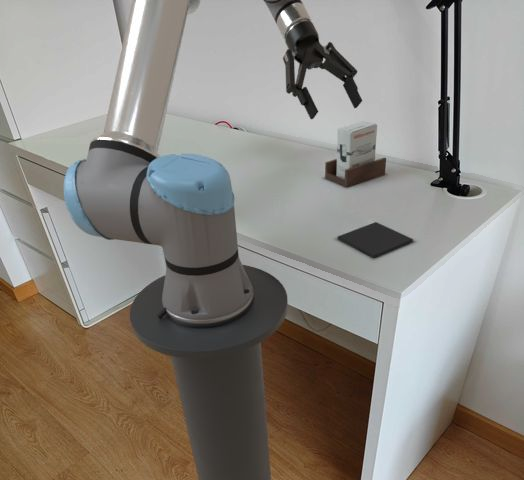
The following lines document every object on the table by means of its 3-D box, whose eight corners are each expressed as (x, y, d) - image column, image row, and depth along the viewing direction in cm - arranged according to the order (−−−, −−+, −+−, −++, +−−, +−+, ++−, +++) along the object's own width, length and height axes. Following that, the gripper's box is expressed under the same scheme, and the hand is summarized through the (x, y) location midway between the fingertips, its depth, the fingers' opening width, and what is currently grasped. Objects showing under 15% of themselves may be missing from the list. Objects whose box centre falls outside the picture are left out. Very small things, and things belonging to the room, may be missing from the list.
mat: (373, 258, 90) (373, 255, 90) (337, 239, 97) (337, 236, 96) (412, 241, 94) (413, 239, 94) (375, 224, 101) (375, 221, 100)
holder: (346, 187, 117) (347, 170, 115) (324, 178, 122) (325, 162, 120) (384, 174, 122) (386, 158, 120) (362, 166, 127) (363, 150, 125)
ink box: (360, 169, 126) (363, 119, 118) (374, 174, 122) (379, 123, 115) (334, 178, 122) (336, 127, 115) (348, 183, 119) (351, 131, 111)
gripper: (331, 36, 128) (367, 109, 127) (249, 50, 118) (288, 130, 117) (345, 12, 121) (384, 90, 120) (260, 25, 111) (302, 109, 110)
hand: (337, 110), depth 119 cm, fingers open, 13 cm apart
